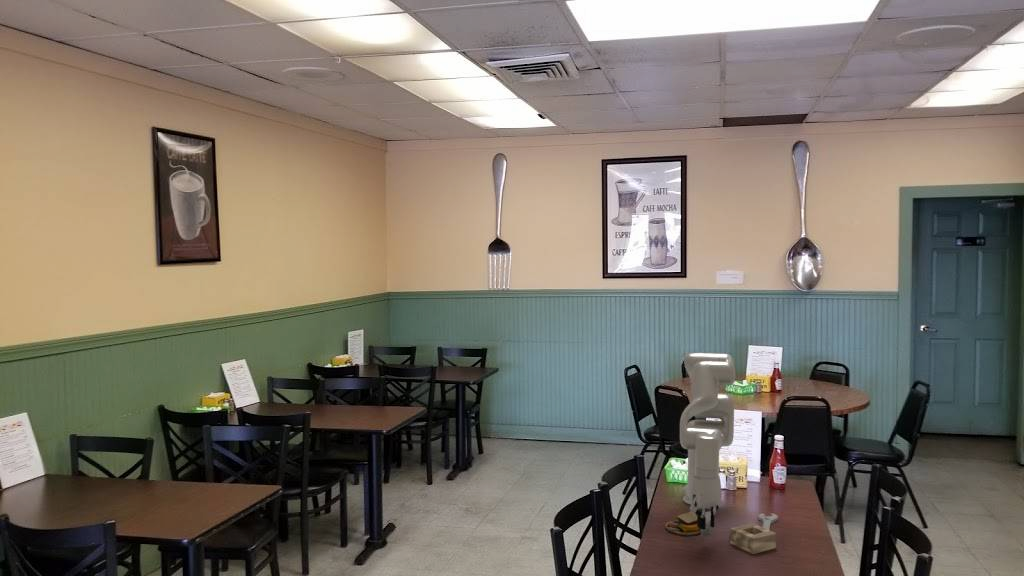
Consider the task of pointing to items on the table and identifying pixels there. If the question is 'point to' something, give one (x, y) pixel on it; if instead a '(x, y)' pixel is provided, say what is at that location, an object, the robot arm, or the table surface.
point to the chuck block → (753, 538)
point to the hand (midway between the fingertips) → (705, 526)
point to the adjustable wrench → (767, 520)
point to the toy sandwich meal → (684, 524)
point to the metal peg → (707, 523)
